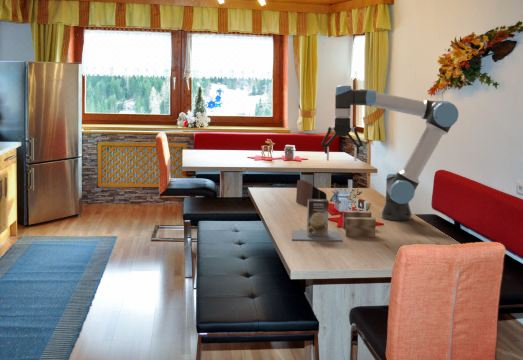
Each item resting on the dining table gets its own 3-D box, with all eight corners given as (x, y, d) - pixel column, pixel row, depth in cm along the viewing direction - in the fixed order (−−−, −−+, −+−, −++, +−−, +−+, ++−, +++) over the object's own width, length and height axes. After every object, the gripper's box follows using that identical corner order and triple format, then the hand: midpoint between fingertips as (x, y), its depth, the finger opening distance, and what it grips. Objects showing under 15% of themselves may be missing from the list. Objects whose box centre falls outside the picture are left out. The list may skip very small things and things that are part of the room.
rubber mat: (339, 232, 310) (339, 231, 310) (342, 241, 292) (342, 240, 292) (291, 231, 311) (291, 230, 311) (292, 240, 293) (292, 239, 293)
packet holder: (369, 227, 321) (370, 211, 320) (375, 236, 301) (375, 219, 300) (342, 226, 322) (343, 210, 320) (346, 236, 302) (346, 218, 301)
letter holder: (310, 208, 369) (311, 183, 366) (295, 202, 387) (296, 178, 385) (326, 207, 372) (327, 182, 370) (311, 201, 390) (311, 177, 388)
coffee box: (307, 236, 298) (308, 201, 296) (306, 233, 304) (307, 198, 302) (328, 236, 298) (328, 201, 296) (326, 233, 304) (327, 198, 302)
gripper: (367, 117, 329) (366, 160, 332) (316, 116, 330) (315, 159, 333) (369, 118, 322) (367, 161, 325) (317, 117, 323) (316, 161, 326)
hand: (341, 160), depth 329 cm, fingers open, 13 cm apart
